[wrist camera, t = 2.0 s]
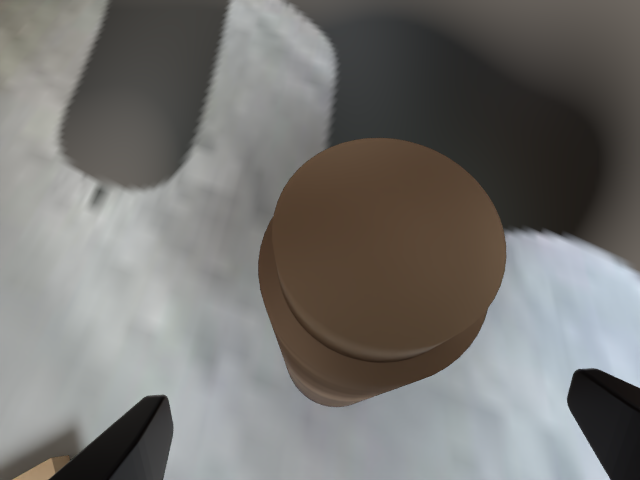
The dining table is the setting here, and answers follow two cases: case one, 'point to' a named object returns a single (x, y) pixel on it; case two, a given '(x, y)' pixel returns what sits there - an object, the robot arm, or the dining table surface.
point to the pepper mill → (378, 268)
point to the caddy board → (45, 469)
